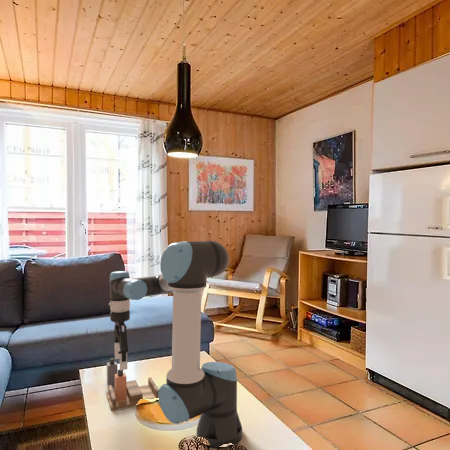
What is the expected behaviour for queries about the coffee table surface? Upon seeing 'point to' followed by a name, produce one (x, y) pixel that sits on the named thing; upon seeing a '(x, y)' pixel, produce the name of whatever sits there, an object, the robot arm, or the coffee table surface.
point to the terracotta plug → (120, 385)
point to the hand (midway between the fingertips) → (120, 363)
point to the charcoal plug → (111, 372)
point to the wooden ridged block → (132, 394)
